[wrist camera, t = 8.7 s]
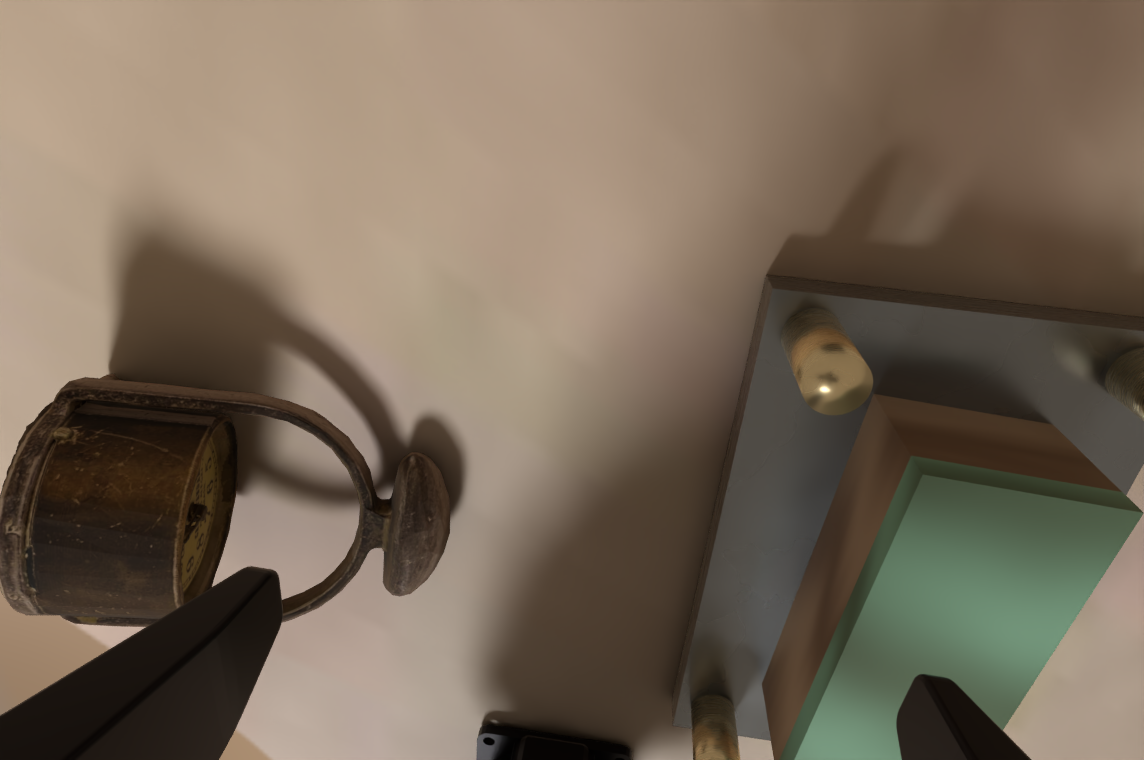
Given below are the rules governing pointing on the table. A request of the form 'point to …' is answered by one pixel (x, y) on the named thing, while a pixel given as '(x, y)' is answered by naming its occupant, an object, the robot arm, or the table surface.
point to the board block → (938, 574)
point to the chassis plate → (829, 430)
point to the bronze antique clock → (174, 504)
